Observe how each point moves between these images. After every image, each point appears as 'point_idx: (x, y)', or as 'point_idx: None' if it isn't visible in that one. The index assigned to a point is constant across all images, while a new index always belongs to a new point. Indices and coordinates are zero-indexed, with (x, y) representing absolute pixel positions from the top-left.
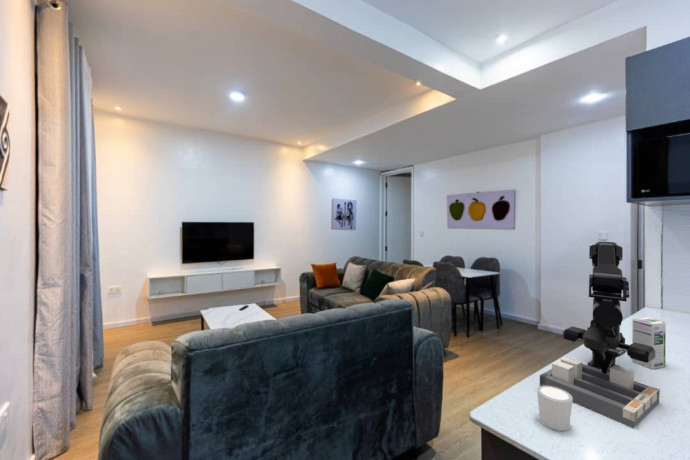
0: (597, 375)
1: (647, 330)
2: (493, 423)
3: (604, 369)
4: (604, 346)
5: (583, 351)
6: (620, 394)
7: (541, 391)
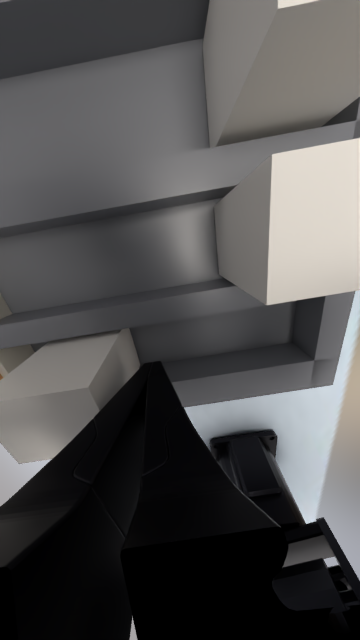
0: (200, 366)
1: None
2: None
3: (144, 376)
4: None
5: (311, 482)
6: None
7: None
